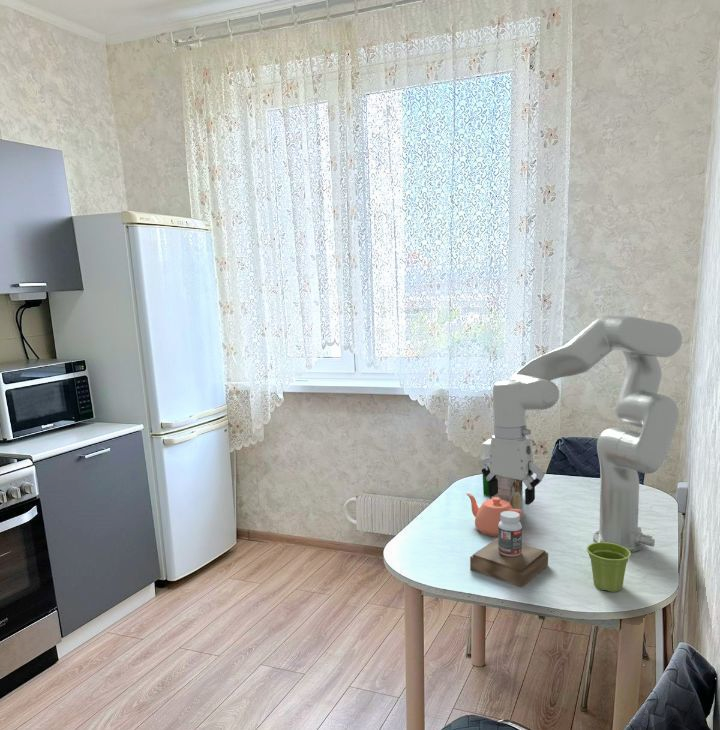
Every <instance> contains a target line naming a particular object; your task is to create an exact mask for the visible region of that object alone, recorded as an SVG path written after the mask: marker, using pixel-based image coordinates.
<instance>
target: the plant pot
mask: <svg viewBox="0 0 720 730" xmlns="http://www.w3.org/2000/svg"><path fill="white" fill-rule="evenodd" d="M586 552H587V553H588V556H589V559H590V565H591V572H592V573H591V574H592V580H593V585H594V586H595V587H596V589H599V590H602V591H608V592H609V593H614V592H620V591H621V590H622V588H623V585H624V579H625V575H626V568H627V563H628V562H629V559H630V558H631V553H632V552H630V551H629V550H628V549H627V548H625V547H623V546H620V545H617V544H613V543H607V542H598V543H595V542H592V543H590V544H588V545H587V546H586Z"/></svg>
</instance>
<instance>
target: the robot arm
mask: <svg viewBox="0 0 720 730" xmlns="http://www.w3.org/2000/svg"><path fill="white" fill-rule="evenodd" d="M682 344H683V336H682V333H681V331H680V329H679V328H677V326H675V325H673V324H671V323H666V322H662V321H656V320H650V319H646V318H641V317H635V316H623V315H622V316H621V315H619V316H618V315H604V316H601V317H598V318H597V319H596V320H594V321H592V323H590V324H589V325H588V326H587V327H585V328H584V329H583V330H582V331H580V332H579V333H578V334H577V335H576V336H574V337H573V338H572V339H570V341H568V342H567V343H566V344H564V345H563V346H562V347H558V348H555V349H554V350H551V351H549V352H546V353H545V354H542V355H540V356H538V357H536V358H534V359H531V360H530V361H529V362H528V363H526V364H525V365H524V366H522V367H521V368H520V369H519V370H517V371H516V372H515V373H514V374H513V375H512V376H511V377H510V379H508V380H501V381H497V382H495V383H494V384H493V386H492V404H493V405H492V407H493V409H492V410H493V435H492V436H491V438H490V439H491V444H490V453H489V457H488V458H486V459H483V458H482V459H481V460H479V461H478V465H479V468H480V469H481V473H482V475H483V474H484V475H485V477H486V480H487V481H488V488H489V495H490V496H489V495H488V496H489V497H491V498H492V497H493V496H494V495H496V494H498V479H497V478H496V476H501V477H506V478H511V479H517V480H522V483H524V484H523V485H525V486H526V488H525V489H524V500H525V501H524V504H525V505H526V506H529V505H530V504H532V503H533V502H534V501H535V499H536V492H535V491H536V490H535V487H536V486H537V485H538V484H541V482H542V481H543V479H544V477H545V475H546V471H544V470H543V469H542V468H541V467H539V466H537V464H535V463H534V455H533V447H532V444H531V440H530V437H528V436H530V435H531V434H532V432H531V429H528V428H527V425H526V411H527V410H531V411H532V410H533V411H536V410H537V411H543V410H548V409H551V408H552V407H554V406H555V405H556V404H557V403H558V401H559V398H560V390H559V388H558V386H557V385H556V383H555V382H553V380H557V379H559V378H560V379H561V378H565V377H566V378H567V377H573V376H577V375H581V374H585V373H587V372H588V371H590V370H591V369H592V368H594V366H596V364H598V363H599V362H600V361H602V359H604V358H605V357H606V356H607V355H608V354H610V353H611V352H612V351H616V350H617V351H618V350H619V351H621V352H622V353H623V355H624V357H625V358H624V359H625V362H626V374H625V376H624V380H623V382H622V386H621V389H620V393H619V395H618V398H617V402H616V404H615V409H614V414H615V417H616V418H617V420H618V421H620V422H621V423H624V424H627V425H630V426H633V427H636V428H640V429H641V431H640V432H638V431H634V430H631V429H628V428H627V429H626V428H625V427H624V428H623V427H616V426H614V427H613V426H612V427H608V428H606V429H604V430H603V431H602V432H601V433H600V434H599V435H598V439H597V440H596V451H597V455H598V461H599V468H600V471H599V472H600V473H599V474H600V481H599V483H600V487H599V490H600V491H599V530H598V531H597V530H596V531H595V532H594V533H593V536H592V540H593V543H598V542H607V543H613V544H617V545H620V546H623V547H625V548H627V549H628V550H629V551H630V553H634V552H638V551H640V550H642V549H643V548H644V546H645V545H646V546H648V547H651V548H654V546H655V542H656V541H655V539H654V538H653V535H650V534H649V535H648V534H644V533H643V532H642V527H639V506H640V505H639V501H640V495H639V494H640V478H639V474H638V472H639V473H643V474H653V473H656V472H657V471H659V470H660V469H661V467H662V466H663V464H664V462H665V460H666V458H667V455H668V452H669V449H670V446H671V444H672V441H673V437H674V435H675V432H676V429H677V426H678V422H679V416H680V415H679V408H678V405H677V403H676V401H675V400H674V399H672V398H671V397H669V396H668V395H665V394H661V393H659V388H660V385H661V380H662V367H661V364H660V362H659V360H658V358H669V357H672V356H674V355H676V353H678V352H679V350H680V349H681V346H682ZM487 463H489V468H487ZM489 469H490V470H489ZM534 474H536V475H535V478H534V477H533V475H534Z"/></svg>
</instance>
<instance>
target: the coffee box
mask: <svg viewBox="0 0 720 730" xmlns="http://www.w3.org/2000/svg"><path fill="white" fill-rule="evenodd" d="M496 478H497V479H498V494H496V495H494V496H493V497H498V498H501V500H505V501H508V502H509V503H510V504H511V506H512V507H513V509H520V510H521V511H522V512H523V505H524V504H523V503H524V502H523V501H524V500H523V493H524V492H523V488H524V487H523V481H522V480H517V479H511V478H506V477H501V476H496ZM493 497H491V499H492V498H493Z"/></svg>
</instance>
